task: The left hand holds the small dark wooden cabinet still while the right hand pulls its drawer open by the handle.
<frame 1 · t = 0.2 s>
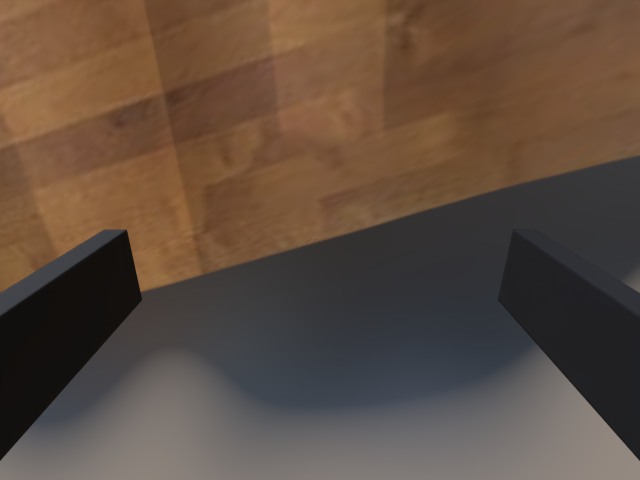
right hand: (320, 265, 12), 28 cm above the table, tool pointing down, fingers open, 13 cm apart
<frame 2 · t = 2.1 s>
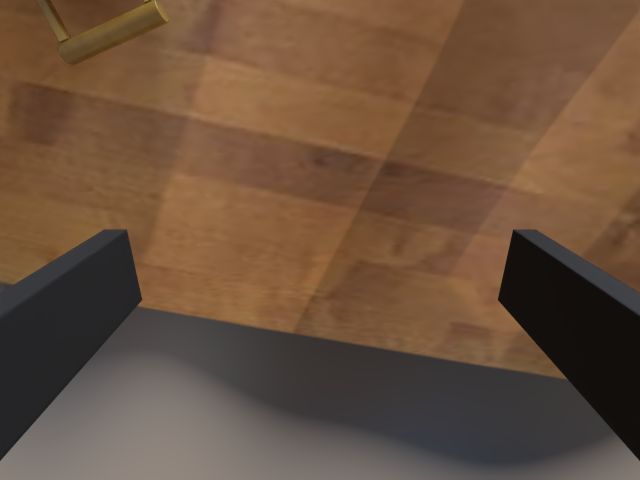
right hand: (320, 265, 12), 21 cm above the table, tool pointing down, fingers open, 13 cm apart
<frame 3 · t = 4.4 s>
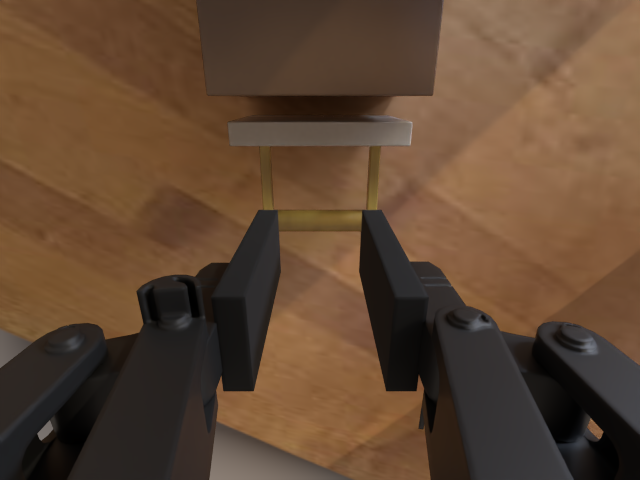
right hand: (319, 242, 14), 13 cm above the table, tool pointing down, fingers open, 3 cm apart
drawer: (319, 5, 19), point 4 cm above the table, slide at 1.2 cm
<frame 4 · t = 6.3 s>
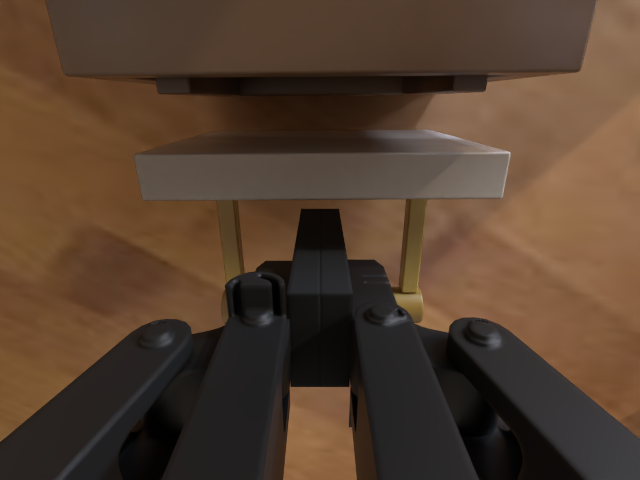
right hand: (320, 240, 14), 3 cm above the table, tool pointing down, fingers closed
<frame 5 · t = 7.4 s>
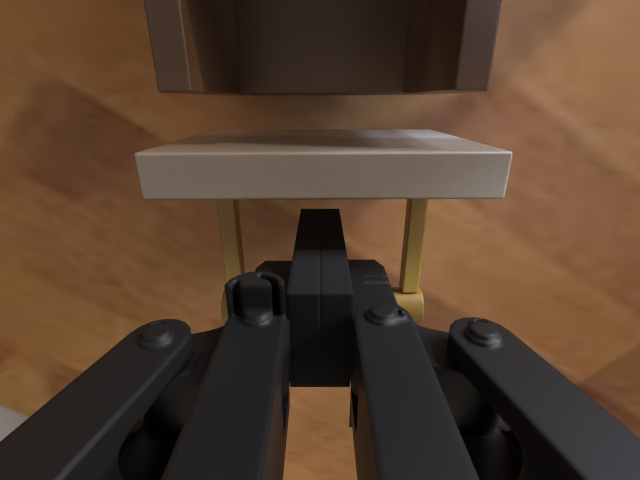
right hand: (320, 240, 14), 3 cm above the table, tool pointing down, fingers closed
when the left hand's fingers open (4 cm above the table, at t = 9.3 s): cabinet stays where it is, on the table.
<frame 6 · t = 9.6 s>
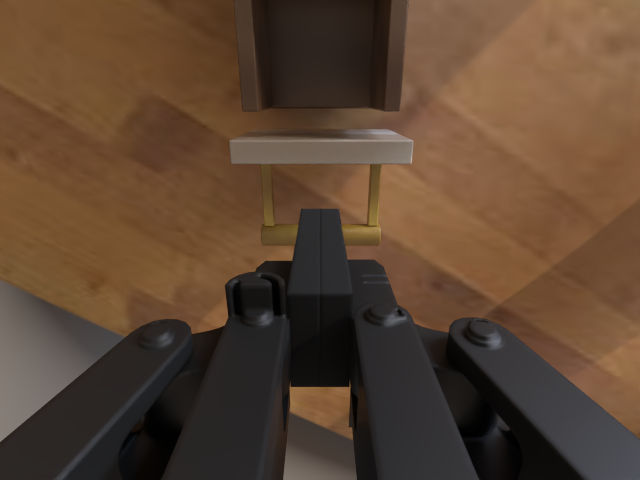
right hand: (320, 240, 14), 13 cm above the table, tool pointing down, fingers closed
drawer: (321, 23, 19), point 4 cm above the table, slide at 8.4 cm
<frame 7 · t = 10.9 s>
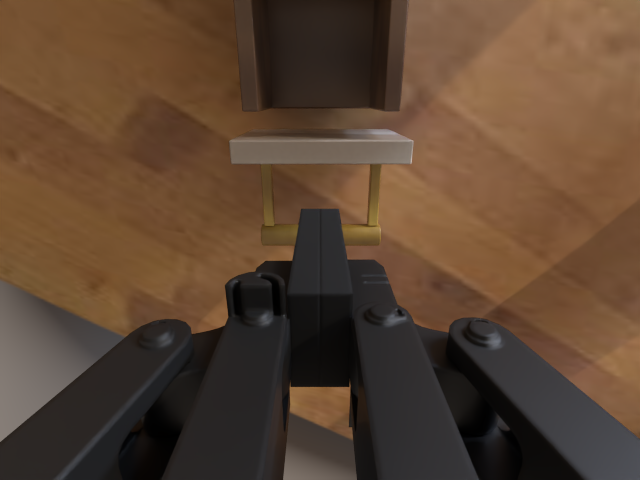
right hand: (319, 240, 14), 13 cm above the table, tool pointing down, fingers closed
drawer: (321, 23, 19), point 4 cm above the table, slide at 8.4 cm
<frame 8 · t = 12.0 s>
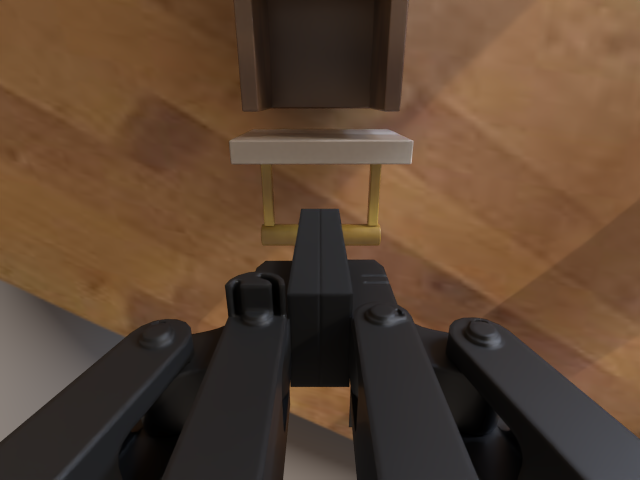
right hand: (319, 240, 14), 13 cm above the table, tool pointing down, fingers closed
drawer: (321, 23, 19), point 4 cm above the table, slide at 8.4 cm
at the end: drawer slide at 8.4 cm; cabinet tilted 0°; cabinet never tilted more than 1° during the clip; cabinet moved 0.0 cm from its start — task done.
